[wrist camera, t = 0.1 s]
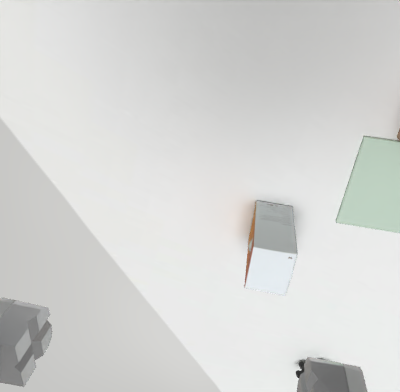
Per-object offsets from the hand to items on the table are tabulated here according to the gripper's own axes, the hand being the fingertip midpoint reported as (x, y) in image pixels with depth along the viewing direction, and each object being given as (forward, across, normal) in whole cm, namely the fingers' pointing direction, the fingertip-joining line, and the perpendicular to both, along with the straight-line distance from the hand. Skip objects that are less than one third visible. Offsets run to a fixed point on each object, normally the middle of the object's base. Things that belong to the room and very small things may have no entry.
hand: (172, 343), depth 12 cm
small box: (+48, -8, +25) cm, 55 cm away
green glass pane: (+48, -26, +15) cm, 57 cm away
